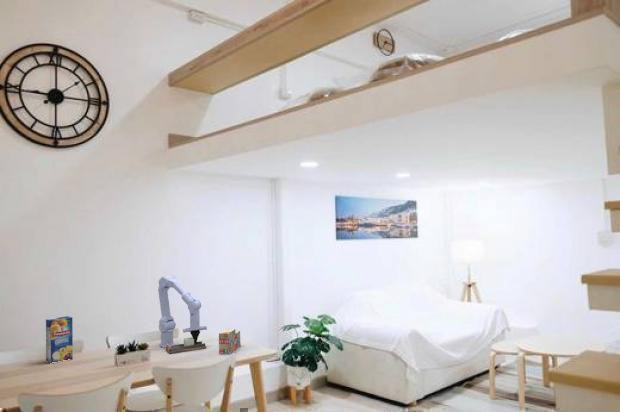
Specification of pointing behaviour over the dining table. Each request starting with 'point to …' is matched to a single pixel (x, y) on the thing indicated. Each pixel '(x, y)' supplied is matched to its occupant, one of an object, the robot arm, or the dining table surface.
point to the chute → (184, 347)
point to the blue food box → (59, 339)
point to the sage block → (188, 341)
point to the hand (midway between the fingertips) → (195, 342)
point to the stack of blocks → (228, 341)
